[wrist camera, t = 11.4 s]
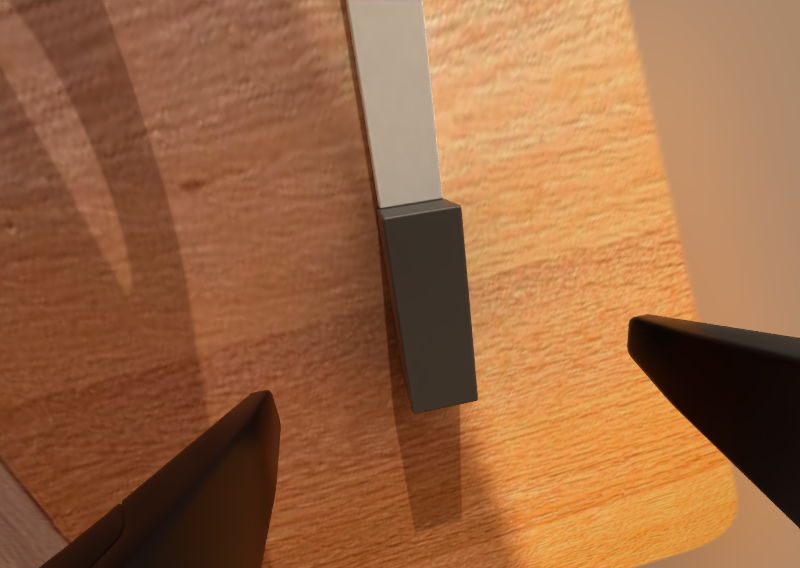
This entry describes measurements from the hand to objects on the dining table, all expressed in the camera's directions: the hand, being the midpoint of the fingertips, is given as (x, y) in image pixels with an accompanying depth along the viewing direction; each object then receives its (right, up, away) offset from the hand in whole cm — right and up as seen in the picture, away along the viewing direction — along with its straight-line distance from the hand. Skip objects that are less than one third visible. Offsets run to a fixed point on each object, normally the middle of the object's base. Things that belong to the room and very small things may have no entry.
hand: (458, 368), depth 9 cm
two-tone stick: (-1, +6, +4) cm, 7 cm away
